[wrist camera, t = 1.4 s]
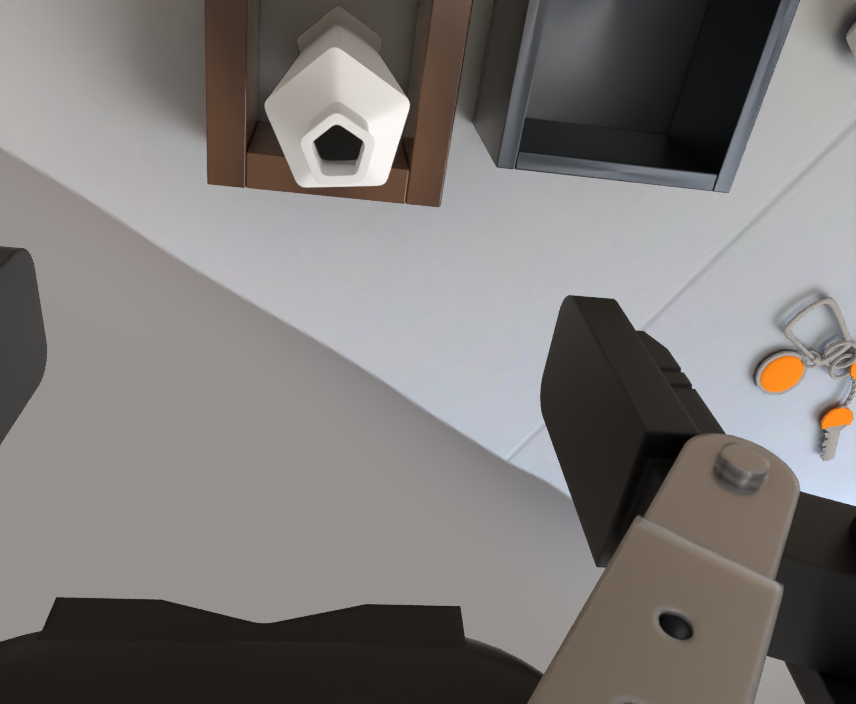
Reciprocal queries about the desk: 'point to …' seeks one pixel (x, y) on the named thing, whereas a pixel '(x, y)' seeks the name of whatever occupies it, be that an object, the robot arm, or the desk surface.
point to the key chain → (791, 367)
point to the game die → (852, 39)
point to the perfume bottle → (338, 106)
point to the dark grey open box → (628, 86)
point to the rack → (257, 143)
